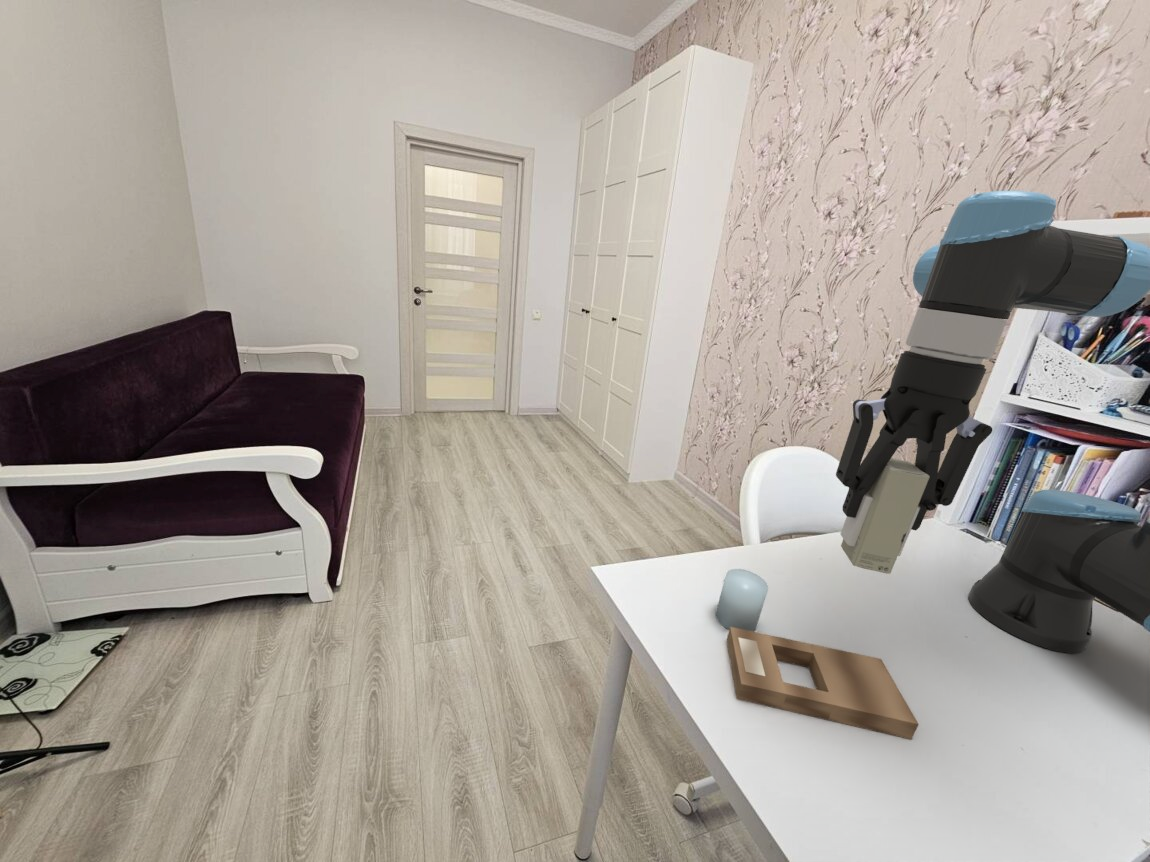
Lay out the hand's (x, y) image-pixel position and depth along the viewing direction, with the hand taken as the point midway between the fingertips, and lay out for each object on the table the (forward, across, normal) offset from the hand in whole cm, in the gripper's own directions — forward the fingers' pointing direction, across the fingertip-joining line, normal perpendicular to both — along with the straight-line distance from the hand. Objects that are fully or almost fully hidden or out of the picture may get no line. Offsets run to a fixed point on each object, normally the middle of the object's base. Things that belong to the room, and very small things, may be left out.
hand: (869, 544), depth 57 cm
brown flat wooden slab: (+20, +2, +3) cm, 20 cm away
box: (+2, 0, 0) cm, 2 cm away
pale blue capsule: (+20, +10, -7) cm, 24 cm away
